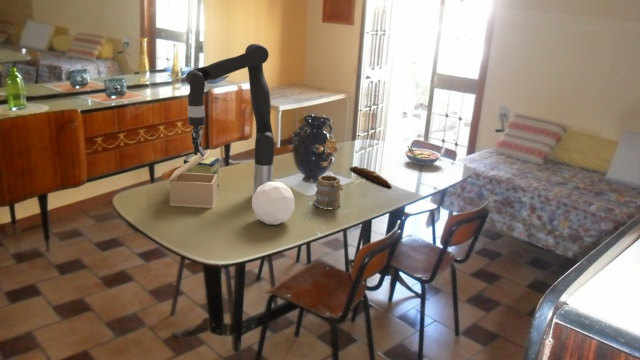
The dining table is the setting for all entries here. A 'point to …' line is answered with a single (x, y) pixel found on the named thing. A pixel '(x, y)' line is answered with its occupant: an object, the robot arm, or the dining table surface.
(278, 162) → the dining table surface
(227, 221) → the dining table surface
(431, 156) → the ramen bowl
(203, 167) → the protein box
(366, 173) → the bread
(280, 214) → the ball
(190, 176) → the carton
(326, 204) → the tankard
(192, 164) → the lid flap
